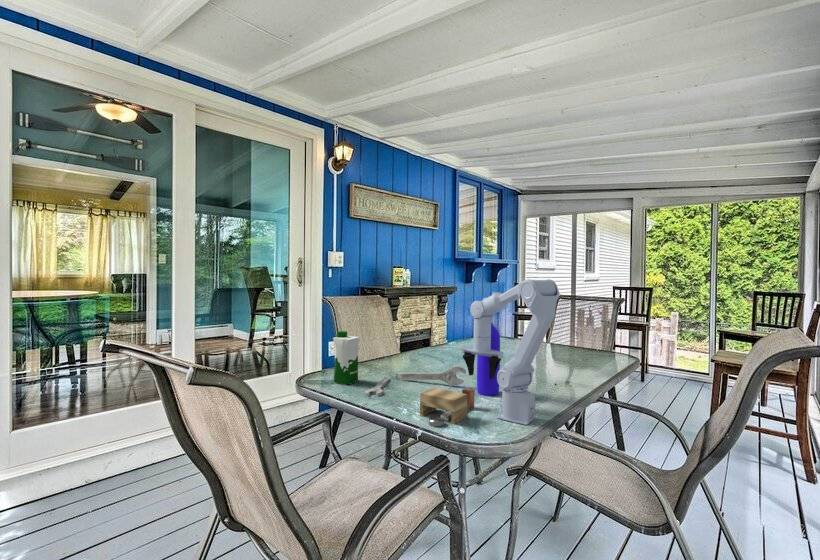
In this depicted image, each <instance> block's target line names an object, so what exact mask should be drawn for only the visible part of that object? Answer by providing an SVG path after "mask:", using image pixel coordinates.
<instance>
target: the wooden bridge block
mask: <svg viewBox="0 0 820 560" xmlns="http://www.w3.org/2000/svg"><path fill="white" fill-rule="evenodd" d="M419 399H420V400H419V402H420V403H419V416H420V417H425V416H427V415H428V414H431V413H432V412H435V411H437V409H439V410H442V411H445V412H447V411H451V420H450V424H451V425H455V424H457V423H459V422H461V421H462V420H464V419H466V418H468V417H467V415H468V411H467V394H463V393H462V392H458V391H453V390H449V389H443V388H438V387H432V388H430V389H428V390H425V391H421V392H420V393H419Z"/></svg>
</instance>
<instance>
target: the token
mask: <svg viewBox="0 0 820 560" xmlns="http://www.w3.org/2000/svg"><path fill="white" fill-rule="evenodd" d="M440 417H441V416H433V417H430V418H429V419H428V425H429V426H430V427H432V426H433V428H442V427H444V426H445V420H444V419H443V418H440Z"/></svg>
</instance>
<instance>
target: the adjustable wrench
mask: <svg viewBox="0 0 820 560" xmlns="http://www.w3.org/2000/svg"><path fill="white" fill-rule="evenodd" d="M389 381H390V377H389V376H384V377H382V378H381V380H380V381H378V382H377V384H376V385H375V386H374V387H372V388H370V389H369V388H368V389H366V390H365V391H364V397H367V398H369V397H370V394H371V395H376V397H377V396H378V397H382V395H383V394H385V390H384V389H383V388H384V387H385V386H386V385H387V384H388V382H389ZM385 384H386V385H385ZM384 385H385V386H384ZM383 386H384V387H383ZM382 387H383V388H382Z"/></svg>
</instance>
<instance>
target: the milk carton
mask: <svg viewBox="0 0 820 560" xmlns="http://www.w3.org/2000/svg"><path fill="white" fill-rule="evenodd" d="M360 338H361V337H360V336H355V335H348V331H346V330H340V331H339V330H338V331H337V332H336V336H335V337H333V338H332V340H333V344H334V373H333V383H334V382H337V383H336V384H340V383H344V384H343V385H347V384H349V385H351V384H350V383H352V384H353V382H354V383H356V382H358V381H359V344H360ZM357 380H358V381H357ZM355 381H356V382H355Z"/></svg>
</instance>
